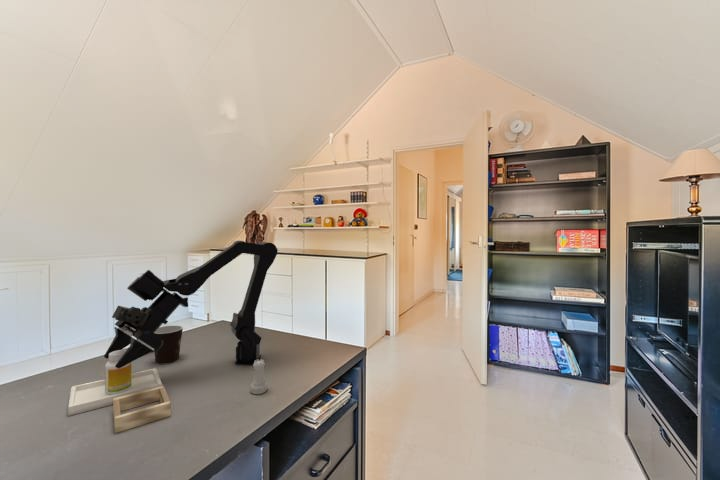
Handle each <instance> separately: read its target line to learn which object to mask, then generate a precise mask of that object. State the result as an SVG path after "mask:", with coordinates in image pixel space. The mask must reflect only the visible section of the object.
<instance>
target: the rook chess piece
mask: <svg viewBox="0 0 720 480" xmlns="http://www.w3.org/2000/svg"><path fill="white" fill-rule="evenodd" d="M265 366H266V362H265V359H262V358H260V359H258V360H257V361H256V360H255V361H254V364H252V367H253V368H254V370H253V372H254V374H253V380H252V381H251V383H250V389H249V391H250V393H251V394H253V395H262V394H264V393H265V392H266V391H267V390H268V382H267V380H266V379H265Z"/></svg>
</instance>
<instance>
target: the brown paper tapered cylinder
mask: <svg viewBox="0 0 720 480" xmlns="http://www.w3.org/2000/svg"><path fill="white" fill-rule="evenodd" d="M183 329H184V328H183V326H182V325H178V324H177V325H163V326H160V327H159V328H158V329H157V330H156V331H155V332H154V333H155V334H156V335H157V336H158V337H160V338H161V339H163V345H162V346H161V347H160V349H159V350H158V351H157V350H155V349H154V350H153V351H154V360H155V363H156V364H158V365H165V364H166V365H167V364H172V363H174V362H176V361H178V360H179V359H180V351H181V345H182V344H181V343H182V335H183Z"/></svg>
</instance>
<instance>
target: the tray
mask: <svg viewBox="0 0 720 480" xmlns="http://www.w3.org/2000/svg"><path fill="white" fill-rule="evenodd" d="M161 386H163V383H162V381H161V379H160V376H159V373H158V370H157V368H156V367H154V368H150V369H144V370H142V371H137V372H131V388H130V389H128V390H127V391H124V392H122V393H118V394H107V393H106V392H105V378H104V379H100V380H95V381H91V382H87V383H82V384H78V385H73V386H71V390H70V393H69V401H68V406H67V407H68V409H67V416H68V417H71V416H73V415H78V414H83V413H85V412H89V411H93V410H97V409H98V410H99V409H100V408H106V407H108V406H113V399H114V398H117V397H121V396H125V395H129V394H133V393H137V392H141V391H145V390H149V389H153V388H157V387H161Z"/></svg>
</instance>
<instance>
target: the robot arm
mask: <svg viewBox="0 0 720 480" xmlns="http://www.w3.org/2000/svg"><path fill="white" fill-rule="evenodd" d="M278 252H279V251H278V248H277V246H276V245H275V244H274V243H272V242H266V241H260V242H259V243H253V242H246V241H244V240H235V241H233V243H232V244H231V245H229V246H228V247H226V248H224V249H223V250H222V251H220V252H218V254H216V255H214V257H212V258H210V259H209V260H207V261H206V262H205V263H203V264H202V265H200V266H197V267H195V268H192V269H190V270H188V271H186V272H185V271H184V272H183V273H181V274H179V275H178V276H177V277H175V278H172V279H166V280H163V279H161V278H159V277H158V276H157V275H155V273H154V272H152V271H151V270H150V269H147V270H146V271H144V273H142V274H141V275H140V276H138V277H136V279H135V280H133V281H132V282H131V283H130V284H129V285H128V286H127V290H129V291H130V292H132V293H133V294H135V295H136V296H137V297H138V298H140V299H142V300H143V301H144V302H146V301H148V300H149V301H153V300H154V301H153V302H152V303H151V304H150V305H149V306H148V307H146V306H145V307H141V308H140V307H135V306H131V307H128V306H127V307H126V306H122V305H117V307H116V309H115V311H114V313H113V314H112V316H111V318H112V319H114V320H115V321H116V322H115V323H114V332H115V333H114V334H115V336H114V338H113V340H112V342H111V343H110V345H109V346H108V348H107V350H106V352H105V354H104V355H103V357H104V359H108V360H109V353H111V352H113V351H117V350H124V349H125V348H126V347H128V346H129V347H128V348H127V349H126V350H127V351H126V352H125V353H124V355H123V356H122V357H121V358H120V360H119V361H118V363H117V364H116V365H115V367H116V368H121V367H123V366H125V365H127V364H129V363H130V362H131V363H133V362H134V361H136V360H138V359H140V358H142V357H145V355H148V354H150V353H153V352H154V350H152V348H154V349H155V350H157V351H158V350H159V349H160V347H161V346H162V345H163V339H161V338H160V337H158V336H157V335H156V334H155V333H154V332H155V331H156V330H157V329H158V328H159V327H162V325H163V324H164V325H166V324H167V323H168V322H169V320H168V319H169V317H170V316H171V315H172V314H173V313H174V312H175V310H176V309H177V308H179V306H181V307H184V308H188V307H189V302H188V300H189V297H187V296H191V295H194V294H195V293H196V292H197V291H198V290H199V289H200V288H201V287H202V286H203V285H204V284H205V282H206V281H208V280H209V278H210V277H211V276H212V275H214V274H215V273H217V272H218V271H219V270H221V269H223V268H224V267H225V266H227V265H228V264H229V263H231V262H233V261H234V260H235V259H236V258H238V257H239V256H241V255H242V254H245V255H253V269H252V273H251V275H250V279H249V283H248V286H247V289H246V292H245V295H244V296H245V297H244V300H243V303H242V306H241V308H240V310H239V311H238V313H236V312H233V314H232V320H231V322H230V323H229V326H231V327H230V330H231V332H232V333H233V335H234V337H236V339H237V340H239V341H238V342H237V343H236V344H237V346H236V347H235V361H234V364H235V365H253V364H254V361H255V360H256V361H257V360H258V359H259V360H260V359H262V355H261V354H260V352H261V350H260V346H261V345H260V344H261V341H262V337H261V336H260V335H259V333H258V332H256V331H255V330H256V329H255V328H256V312H257V311H256V310H257V308H258V307H257V306H258V304H259V300H260V296H261V293H262V291H263V290H262V289H263V286H264V283H265V279H266V276H267V273H268V271H269V270H270V268H271V266H272V265H273V263H274V261H275V259H276V258H277V256H278ZM172 292H173V293H172ZM181 295H182V296H186V297H182V296H181ZM132 336H133V337H132ZM136 338H138V340H137V339H136Z"/></svg>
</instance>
